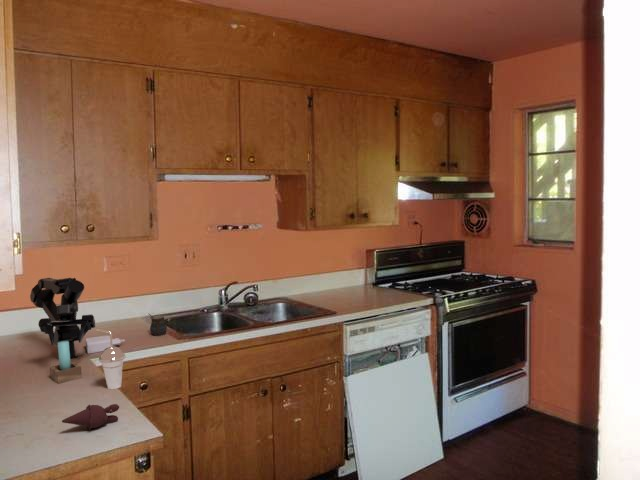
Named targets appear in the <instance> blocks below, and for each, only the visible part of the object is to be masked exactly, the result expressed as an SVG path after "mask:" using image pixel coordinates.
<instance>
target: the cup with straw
mask: <svg viewBox="0 0 640 480" xmlns="http://www.w3.org/2000/svg"><path fill="white" fill-rule="evenodd" d="M95 332H102V333H107V334H109V336H110V344H111V347H108V348H106V349H105V350H104V351H103V352H101V355H100V356H99V358H98V361H99V363H101V366H102V370H103V373H104V379H105V384H106V386H107V389H108V390H109V389H110V390H116V389H119V388H121V387H122V382H123V381H122V380H123V366H124V360H125V358H126V354H125V353H124V352H123V351H122V349H121V348H119V347H118V346H116V345H114V346H113V341H112V339H113V332H112V331H111V330H106V329H101V328H96V329H95Z"/></svg>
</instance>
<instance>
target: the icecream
mask: <svg viewBox="0 0 640 480" xmlns="http://www.w3.org/2000/svg"><path fill="white" fill-rule="evenodd" d="M119 410H120V405H119V404H117V403H113V404H110V405H108V406H107V407H103V406H101V405H98V404H88V405H87V406H86V407H85V409H83V410H81V411H79V412H76V413H75V414H72V415H71V416H68V417H66V418H63V419H62V420H61V423H64V424H70V425H74V426H75V425H76V426H77V425H78V426H83V427H87V428H88V431H91V429H96V428H99V427H100V426H102V425H103V424H105V423H109V424H111V423H116V422H118V420H119V417H118V416H117V415H115V414H114V413H115V412H117V411H119ZM112 413H113V414H114V415H113V414H112ZM108 414H112V415H108Z"/></svg>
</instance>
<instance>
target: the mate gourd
mask: <svg viewBox="0 0 640 480" xmlns="http://www.w3.org/2000/svg"><path fill="white" fill-rule="evenodd" d="M147 315H149V316H150V317H151V318H150V319H151V323H150V328H149V329H150V332H151V334H152V335H153V336H155V337H160V336H164V335H165V334H166V332H167V330H168V329H167V323H166V322H165V321H166V320H165V316H164V315H156V316H153V315H152V314H150V313H149V312H148V314H147Z"/></svg>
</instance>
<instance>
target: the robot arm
mask: <svg viewBox="0 0 640 480" xmlns="http://www.w3.org/2000/svg"><path fill="white" fill-rule="evenodd" d="M83 291H85V284H84V283H83V282H81V281H80V280H77V278H76V277H66V278H61V279H60V278H59V279H57V278H53V277H52V278H51V277H45V278H40V279H38V280H37V283H36V285H34V287H32V288H31V291H30V295H29V298H30V301H31V303H32V304H33V305H34V306H35V307H36V308H40V309H42V310H43V311H44V313H45V314H46V316H48V318H47V317H45V318H40V319H39V320H38V328H39V330H40V332H42V333H44V334H47V335H48V338H49V341H50V344H51V346H54V345H56V346H58V342H61V341H69V351H70V359H74V358H78V357H79V354H77V353H76V349H75V342H77V341H78V343H82V341H83V339H84V337H85V336H86V334H87V333H88V332H89V331H90V330H92V329H94V328H96V320H95V316H94V315H93V314H83V315H81V318H77V315H78V314H77V313H78V312H79V303H78V300H79V299H80V298H81V295H83ZM55 295H61V299H60V304H58V305H57V304H56V303H55V300H54V299H55ZM79 325H80V327H79ZM54 327H55V328H54ZM56 358H57V359H59V354H58V355H56Z"/></svg>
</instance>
